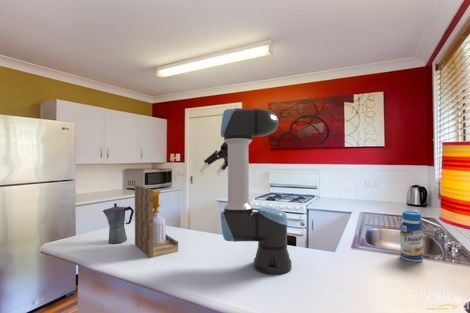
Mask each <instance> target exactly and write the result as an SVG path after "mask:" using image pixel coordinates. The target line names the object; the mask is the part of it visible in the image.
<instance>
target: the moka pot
mask: <svg viewBox="0 0 470 313" xmlns="http://www.w3.org/2000/svg"><path fill="white" fill-rule="evenodd" d="M126 211H130V214H129V220H128V222H125V219H126V218H125V217H126ZM102 212H103V214H104V216H105V217H106V219H107V222H108V226H109V228H108V229H109V231H108V243H109V244H111V245H113V244H121V243H124V242H126V241H127V240H128V238H127V233H126V229H125V225H131V222H132V219H133V216H134V214H135V209H133V207H132V206H130V205H129V206H118V203H113V207H110V208H105V209H103V210H102Z"/></svg>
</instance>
